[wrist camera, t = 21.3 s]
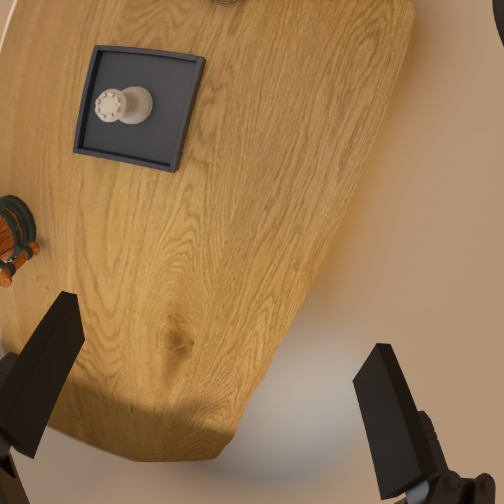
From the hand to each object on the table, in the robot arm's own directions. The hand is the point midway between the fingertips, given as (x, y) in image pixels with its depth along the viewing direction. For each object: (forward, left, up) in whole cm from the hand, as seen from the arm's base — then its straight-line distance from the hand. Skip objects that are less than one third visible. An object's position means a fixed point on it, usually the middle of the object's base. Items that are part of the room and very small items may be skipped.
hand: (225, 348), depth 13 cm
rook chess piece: (+14, -7, -26) cm, 30 cm away
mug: (+31, +13, -26) cm, 43 cm away
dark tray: (+14, -7, -26) cm, 31 cm away
